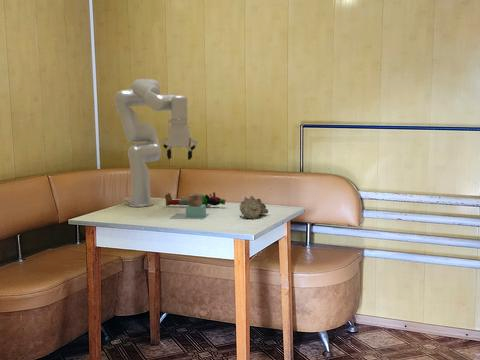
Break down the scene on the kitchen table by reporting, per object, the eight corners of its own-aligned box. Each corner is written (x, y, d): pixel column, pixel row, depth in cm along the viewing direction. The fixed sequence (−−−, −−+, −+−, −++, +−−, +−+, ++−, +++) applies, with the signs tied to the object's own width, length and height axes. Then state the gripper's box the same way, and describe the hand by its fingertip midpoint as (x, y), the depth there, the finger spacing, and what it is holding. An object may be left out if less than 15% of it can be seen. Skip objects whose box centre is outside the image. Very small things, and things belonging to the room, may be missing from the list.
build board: (169, 220, 270) (169, 218, 270) (176, 215, 282) (176, 213, 282) (203, 220, 267) (203, 219, 267) (209, 215, 279) (209, 213, 279)
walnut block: (188, 206, 271) (188, 195, 271) (191, 204, 276) (191, 193, 276) (199, 206, 270) (199, 195, 270) (202, 204, 275) (201, 193, 275)
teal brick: (186, 217, 272) (185, 206, 272) (189, 215, 277) (188, 204, 277) (203, 217, 271) (203, 206, 270) (205, 215, 276) (205, 204, 275)
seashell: (235, 221, 272) (234, 200, 269) (249, 212, 284) (248, 191, 282) (258, 223, 267) (257, 202, 264) (271, 214, 279) (270, 193, 277)
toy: (176, 188, 318) (231, 186, 312) (177, 203, 319) (232, 202, 313) (155, 199, 286) (216, 197, 280) (157, 215, 287) (217, 214, 281)
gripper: (158, 122, 276) (159, 159, 279) (195, 123, 273) (195, 160, 276) (163, 121, 283) (164, 157, 286) (199, 122, 280) (199, 158, 283)
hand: (179, 159), depth 281 cm, fingers open, 9 cm apart
